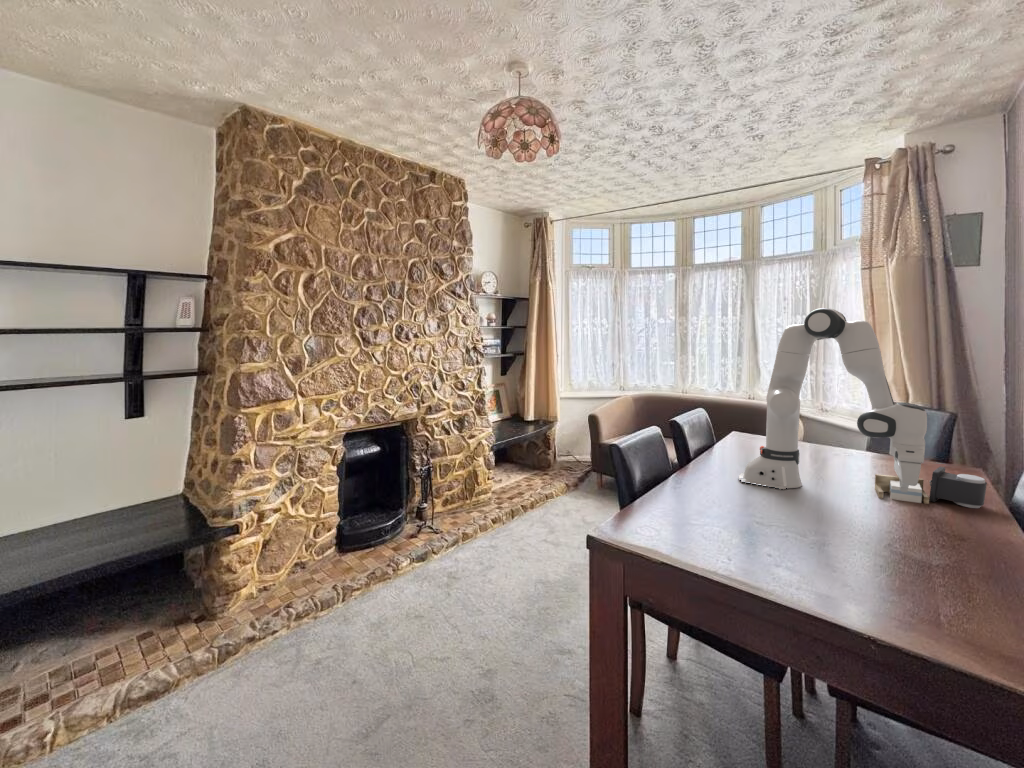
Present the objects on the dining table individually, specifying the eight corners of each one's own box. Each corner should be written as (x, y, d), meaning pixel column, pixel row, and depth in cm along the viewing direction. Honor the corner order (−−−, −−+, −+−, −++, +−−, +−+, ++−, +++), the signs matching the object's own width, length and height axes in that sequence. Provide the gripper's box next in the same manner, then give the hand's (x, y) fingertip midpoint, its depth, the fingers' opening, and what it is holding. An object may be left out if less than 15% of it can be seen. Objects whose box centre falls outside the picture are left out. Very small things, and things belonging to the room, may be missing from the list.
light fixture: (979, 513, 146) (984, 481, 144) (925, 501, 156) (929, 471, 155) (986, 505, 152) (990, 475, 151) (934, 494, 163) (937, 465, 161)
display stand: (878, 498, 161) (879, 481, 160) (874, 489, 170) (875, 474, 169) (928, 504, 154) (929, 487, 153) (921, 494, 163) (922, 478, 162)
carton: (890, 499, 160) (891, 485, 159) (889, 493, 166) (889, 479, 166) (921, 503, 155) (922, 489, 155) (918, 496, 161) (919, 483, 161)
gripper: (890, 443, 161) (887, 480, 163) (899, 456, 144) (895, 498, 146) (913, 446, 158) (910, 484, 159) (925, 459, 141) (921, 501, 142)
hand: (903, 490), depth 152 cm, fingers closed
